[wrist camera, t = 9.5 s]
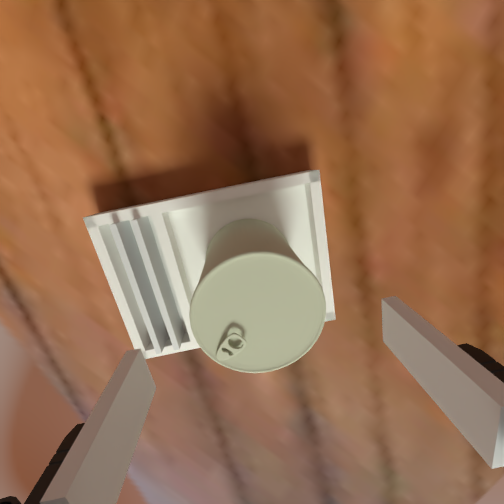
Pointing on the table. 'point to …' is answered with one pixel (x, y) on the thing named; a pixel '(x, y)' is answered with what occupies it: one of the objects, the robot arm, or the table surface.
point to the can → (255, 300)
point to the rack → (198, 250)
